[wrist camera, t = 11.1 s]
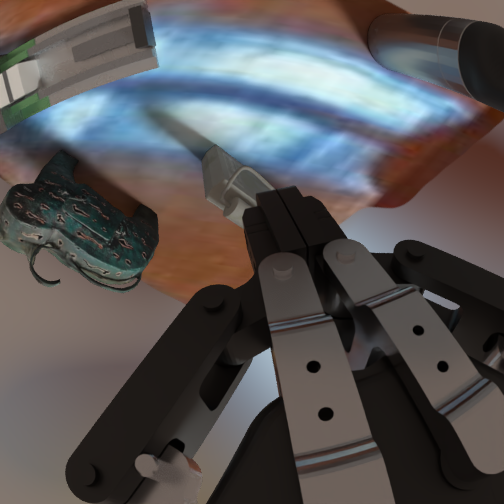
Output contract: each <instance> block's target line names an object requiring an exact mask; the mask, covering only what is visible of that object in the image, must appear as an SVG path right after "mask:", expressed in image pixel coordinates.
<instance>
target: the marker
mask: <svg viewBox="0 0 504 504" xmlns="http://www.w3.org/2000/svg"><path fill="white" fill-rule="evenodd" d="M41 87H43V86H42V82H41V78H40V74H39V70H38V66H37V61H36V60H32V61H27V62H22V63H18V64H16V65H14V66H13V67H11V68H9V69H8V70H5V71H4V72H2V73H1V74H0V108H2V107H4V106H6V105H8V104H10V103H12V102H14V101H17V100H19V99H21V98H22V97H24V96H26V95H28V94H30V93H32V92H33V91H35V90H37V89H39V88H41Z"/></svg>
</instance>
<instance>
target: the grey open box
mask: <svg viewBox="0 0 504 504" xmlns="http://www.w3.org/2000/svg"><path fill="white" fill-rule="evenodd" d="M139 5H141V6H143V7H144V8H145V9H146V10H147V11H148V6H147V0H122V1H119V2H116V3H113V4H110V5H108V6H105V7H102V8H99V9H97V10H94V11H92V12H89V13H87V14H84V15H82V16H79V17H77V18H75V19H73V20H70V21H68V22H66V23H64V24H62V25H59V26H57V27H55V28H53V29H51V30H49V31H47V32H45V33H43V34H42V35H40V36H38V37H36V38H34V39H32V40H30V41H28V42H26V43H25V44H23V45H21V46H20V47H18V48H16V49H15V50H13V51H11V52H10V53H8V54H5V55H0V74H1V73H2V72H4V71H5V70H8V69H9V68H11V67H13V66H14V65H16V64H18V63H22V62H27V61H32V60H36V61H37V66H38V70H39V74H40V78H41V82H42V86H43V87H41V88H39V89H37V90H35V91H33V92H32V93H30V94H28V95H26V96H24V97H22V98H21V99H19V100H17V101H14V102H12V103H10V104H8V105H6V106H4V107H2V108H0V134H2V133H4V132H5V131H7V130H9V129H10V128H12V127H13V126H15V125H16V124H18V123H19V122H21V121H23V120H24V119H26V118H28V117H30V116H32V115H34V114H36V113H38V112H40V111H42V110H44V109H46V108H48V107H50V106H52V105H55V104H57V103H59V102H61V101H64V100H66V99H68V98H70V97H73V96H75V95H78V94H80V93H83V92H85V91H88V90H90V89H93V88H96V87H98V86H101V85H104V84H107V83H109V82H112V81H115V80H118V79H121V78H124V77H127V76H131V75H134V74H137V73H141V72H144V71H148V70H151V69H155V68H158V67H159V63H158V59H157V54H156V49H155V46H153V47H149V48H143V49H136V47H135V43H134V42H133V43H130V44H127V45H124V46H121V47H118V48H115V49H112V50H109V51H106V52H104V53H101V54H98V55H96V56H93V57H90V58H88V59H85V60H83V61H80V62H76V63H75V62H74V57H73V53H72V47H74V46H76V45H79V44H81V43H83V42H86V41H88V40H91V39H93V38H96V37H99V36H101V35H104V34H107V33H110V32H113V31H115V30H118V29H121V28H125V27H128V26H131V22H130V17H129V11H128V9H129V8H132V7H136V6H139Z"/></svg>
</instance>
